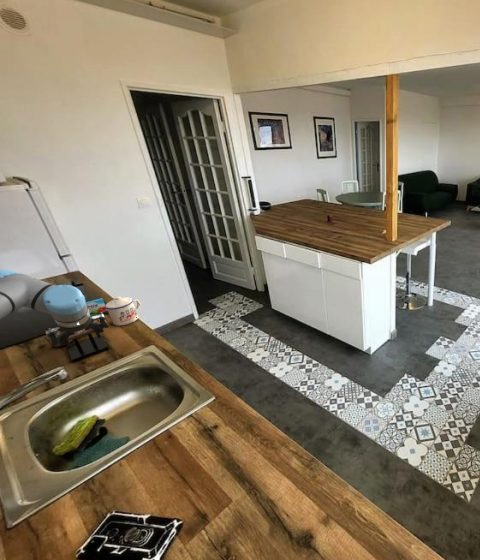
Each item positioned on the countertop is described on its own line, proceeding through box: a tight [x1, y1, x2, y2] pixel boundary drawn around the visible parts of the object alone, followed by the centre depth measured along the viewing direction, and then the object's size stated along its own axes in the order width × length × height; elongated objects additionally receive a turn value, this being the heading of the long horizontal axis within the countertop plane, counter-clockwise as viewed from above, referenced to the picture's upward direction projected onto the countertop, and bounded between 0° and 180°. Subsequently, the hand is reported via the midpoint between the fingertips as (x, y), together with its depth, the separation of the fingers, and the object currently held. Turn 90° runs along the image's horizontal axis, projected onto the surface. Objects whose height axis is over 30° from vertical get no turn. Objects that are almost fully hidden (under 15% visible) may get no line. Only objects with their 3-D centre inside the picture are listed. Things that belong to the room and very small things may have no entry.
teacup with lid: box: [105, 295, 141, 327], centre depth 134 cm, size 12×9×12 cm
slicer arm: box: [68, 329, 96, 341], centre depth 109 cm, size 13×7×2 cm, turn 50°
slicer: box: [65, 329, 110, 363], centre depth 114 cm, size 12×10×14 cm
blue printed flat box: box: [86, 297, 108, 316], centre depth 137 cm, size 12×2×6 cm, turn 140°
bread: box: [44, 317, 108, 348], centre depth 123 cm, size 6×19×6 cm, turn 164°
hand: (83, 339), depth 109 cm, fingers closed on slicer arm, 7 cm apart
